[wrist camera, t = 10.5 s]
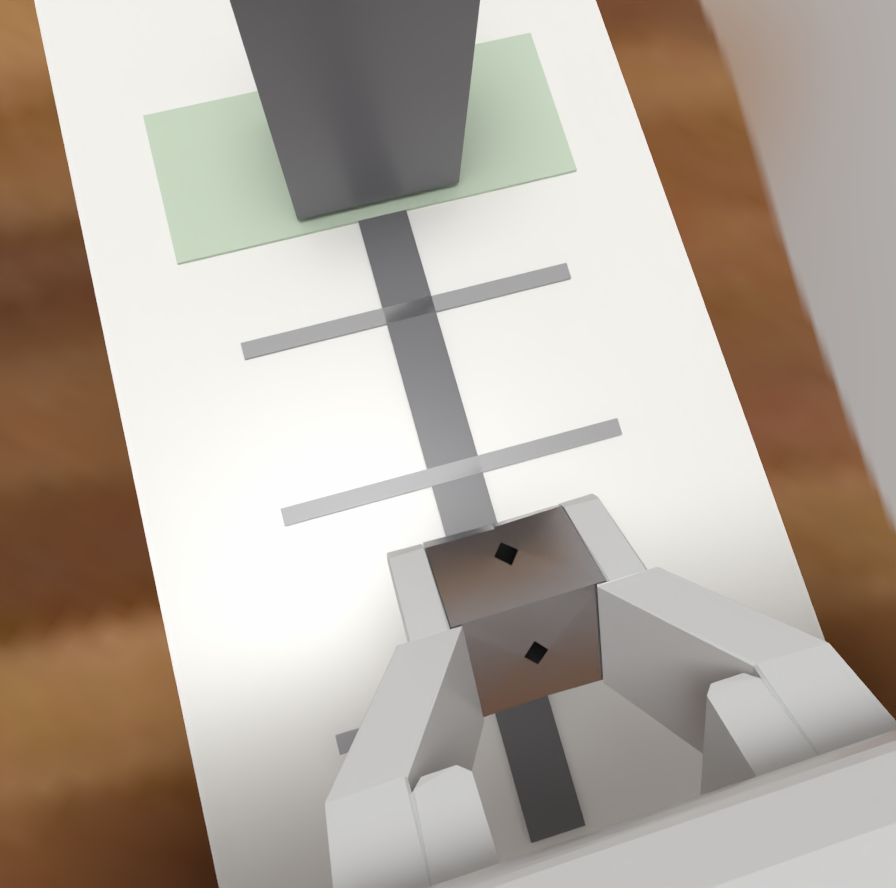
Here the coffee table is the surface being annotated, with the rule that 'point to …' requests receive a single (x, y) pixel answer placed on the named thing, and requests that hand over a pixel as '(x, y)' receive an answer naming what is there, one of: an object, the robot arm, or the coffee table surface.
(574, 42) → the console
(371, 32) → the fader knob
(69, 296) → the coffee table surface
